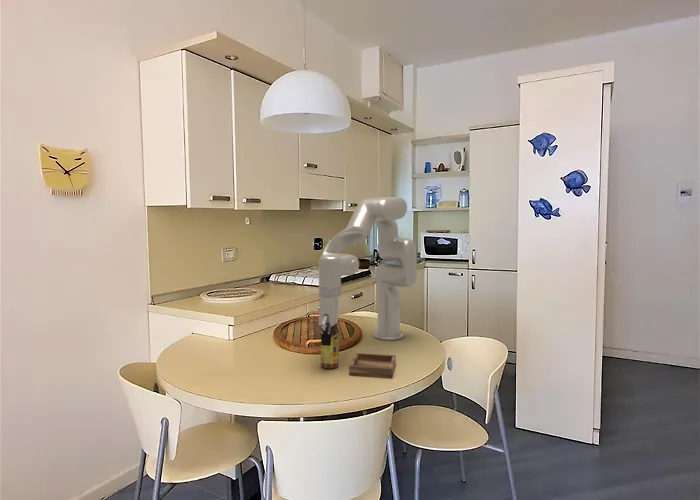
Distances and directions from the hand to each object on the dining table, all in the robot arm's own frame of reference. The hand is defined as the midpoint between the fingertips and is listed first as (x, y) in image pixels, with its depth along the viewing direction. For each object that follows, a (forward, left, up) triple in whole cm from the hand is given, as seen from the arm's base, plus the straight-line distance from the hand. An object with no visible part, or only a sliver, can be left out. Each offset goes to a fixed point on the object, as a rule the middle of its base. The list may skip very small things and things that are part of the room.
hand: (329, 341), depth 152 cm
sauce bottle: (0, 0, -9) cm, 9 cm away
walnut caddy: (0, +15, -9) cm, 18 cm away
